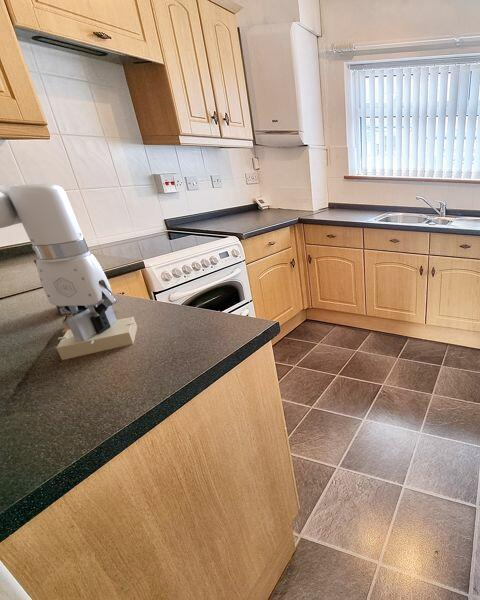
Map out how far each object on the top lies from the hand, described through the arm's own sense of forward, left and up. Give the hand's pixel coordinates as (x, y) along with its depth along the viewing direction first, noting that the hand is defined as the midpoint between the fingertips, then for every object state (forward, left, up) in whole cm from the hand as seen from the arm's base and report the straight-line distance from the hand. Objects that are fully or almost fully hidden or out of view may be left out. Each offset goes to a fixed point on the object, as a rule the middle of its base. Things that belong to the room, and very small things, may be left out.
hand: (97, 330), depth 74 cm
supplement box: (-9, +25, -3) cm, 27 cm away
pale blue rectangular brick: (0, 0, 0) cm, 0 cm away
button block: (-4, +11, -3) cm, 12 cm away
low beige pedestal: (0, 0, -3) cm, 3 cm away
